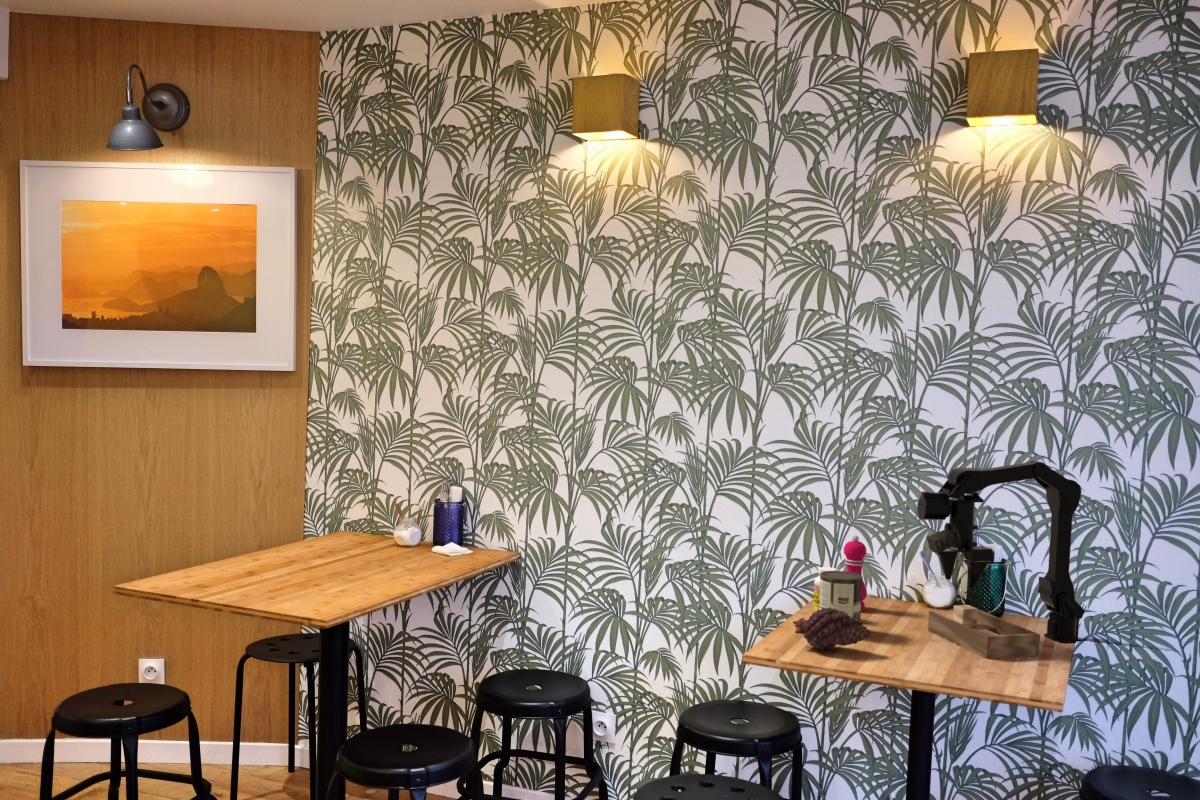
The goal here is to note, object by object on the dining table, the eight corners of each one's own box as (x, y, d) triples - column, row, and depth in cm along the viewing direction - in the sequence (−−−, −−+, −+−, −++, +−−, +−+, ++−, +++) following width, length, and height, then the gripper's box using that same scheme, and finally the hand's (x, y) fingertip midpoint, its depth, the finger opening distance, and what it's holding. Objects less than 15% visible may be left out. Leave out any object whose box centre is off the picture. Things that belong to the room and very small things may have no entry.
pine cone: (870, 649, 245) (872, 606, 245) (867, 660, 236) (869, 616, 235) (793, 640, 251) (795, 599, 250) (787, 651, 241) (789, 608, 241)
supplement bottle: (807, 615, 276) (809, 566, 275) (829, 613, 278) (831, 565, 278) (821, 621, 270) (823, 571, 269) (843, 620, 272) (845, 570, 271)
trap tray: (976, 628, 267) (977, 609, 267) (1039, 655, 244) (1040, 634, 244) (927, 630, 264) (928, 611, 263) (986, 658, 240) (987, 636, 240)
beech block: (967, 622, 263) (967, 604, 263) (976, 626, 259) (977, 608, 259) (952, 623, 262) (953, 605, 262) (962, 627, 258) (963, 609, 258)
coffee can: (844, 624, 267) (846, 569, 267) (868, 635, 258) (871, 578, 257) (809, 627, 264) (811, 571, 263) (833, 638, 254) (835, 580, 253)
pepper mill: (866, 612, 280) (870, 538, 280) (839, 610, 282) (842, 536, 281) (865, 606, 288) (868, 533, 287) (838, 604, 289) (841, 532, 288)
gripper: (911, 515, 263) (909, 576, 264) (956, 527, 246) (953, 593, 246) (949, 514, 267) (947, 575, 267) (997, 526, 249) (994, 591, 249)
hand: (959, 583), depth 257 cm, fingers open, 9 cm apart
